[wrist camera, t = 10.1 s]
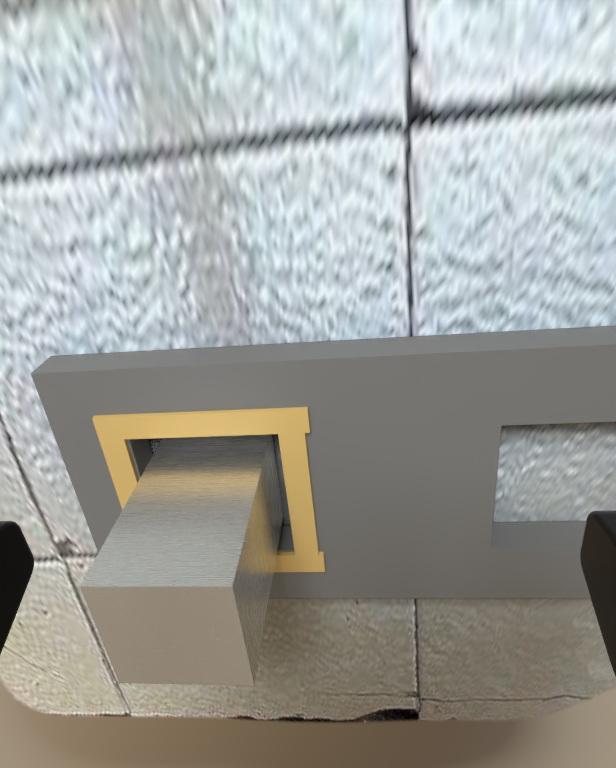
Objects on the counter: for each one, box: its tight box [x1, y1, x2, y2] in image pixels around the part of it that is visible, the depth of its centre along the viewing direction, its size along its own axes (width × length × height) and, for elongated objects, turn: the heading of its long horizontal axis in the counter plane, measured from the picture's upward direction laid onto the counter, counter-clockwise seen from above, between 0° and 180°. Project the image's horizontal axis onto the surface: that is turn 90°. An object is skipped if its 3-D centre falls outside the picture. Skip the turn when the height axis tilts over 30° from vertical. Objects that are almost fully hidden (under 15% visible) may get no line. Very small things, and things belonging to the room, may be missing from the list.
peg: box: [80, 434, 283, 686], centre depth 20 cm, size 4×4×8 cm
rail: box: [31, 326, 616, 599], centre depth 22 cm, size 26×12×2 cm, turn 95°
